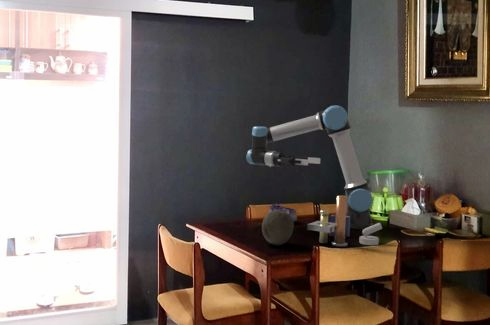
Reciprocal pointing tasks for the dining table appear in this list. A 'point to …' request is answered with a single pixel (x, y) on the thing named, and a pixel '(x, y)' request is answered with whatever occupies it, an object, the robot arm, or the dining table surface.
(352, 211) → the robot arm
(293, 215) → the geode
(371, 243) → the wall hook
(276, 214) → the cantaloupe
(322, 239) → the glass vial
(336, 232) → the rosette bracket
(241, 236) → the dining table surface
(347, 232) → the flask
